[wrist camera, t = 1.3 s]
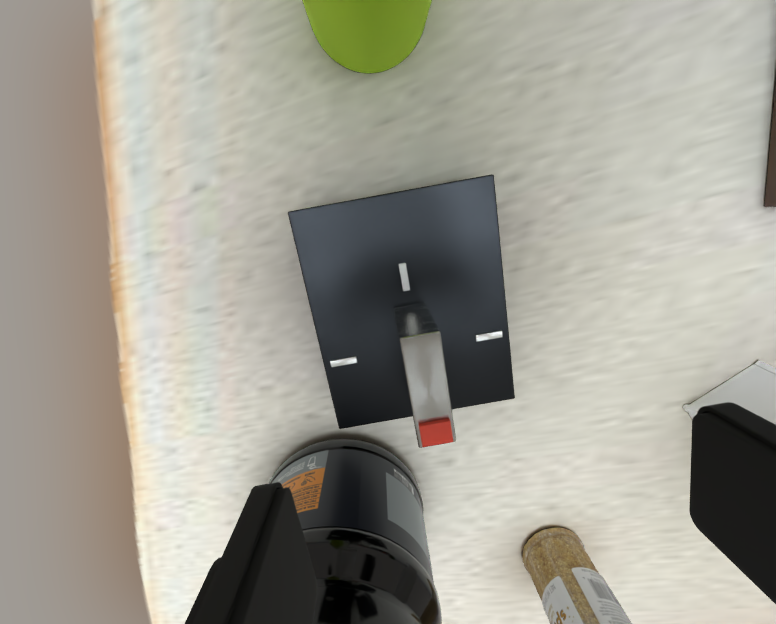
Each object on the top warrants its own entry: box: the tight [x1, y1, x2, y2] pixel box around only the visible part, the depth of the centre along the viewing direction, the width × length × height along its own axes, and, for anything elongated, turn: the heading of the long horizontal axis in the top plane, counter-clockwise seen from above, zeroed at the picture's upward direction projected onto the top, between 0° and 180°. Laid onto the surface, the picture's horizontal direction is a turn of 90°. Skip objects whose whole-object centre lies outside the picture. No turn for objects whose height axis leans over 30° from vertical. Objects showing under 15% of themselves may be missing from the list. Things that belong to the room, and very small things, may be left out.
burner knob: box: [394, 301, 456, 448], centre depth 18 cm, size 5×2×5 cm, turn 10°
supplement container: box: [269, 439, 442, 624], centre depth 20 cm, size 10×10×12 cm
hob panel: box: [288, 175, 515, 429], centre depth 21 cm, size 13×10×3 cm
